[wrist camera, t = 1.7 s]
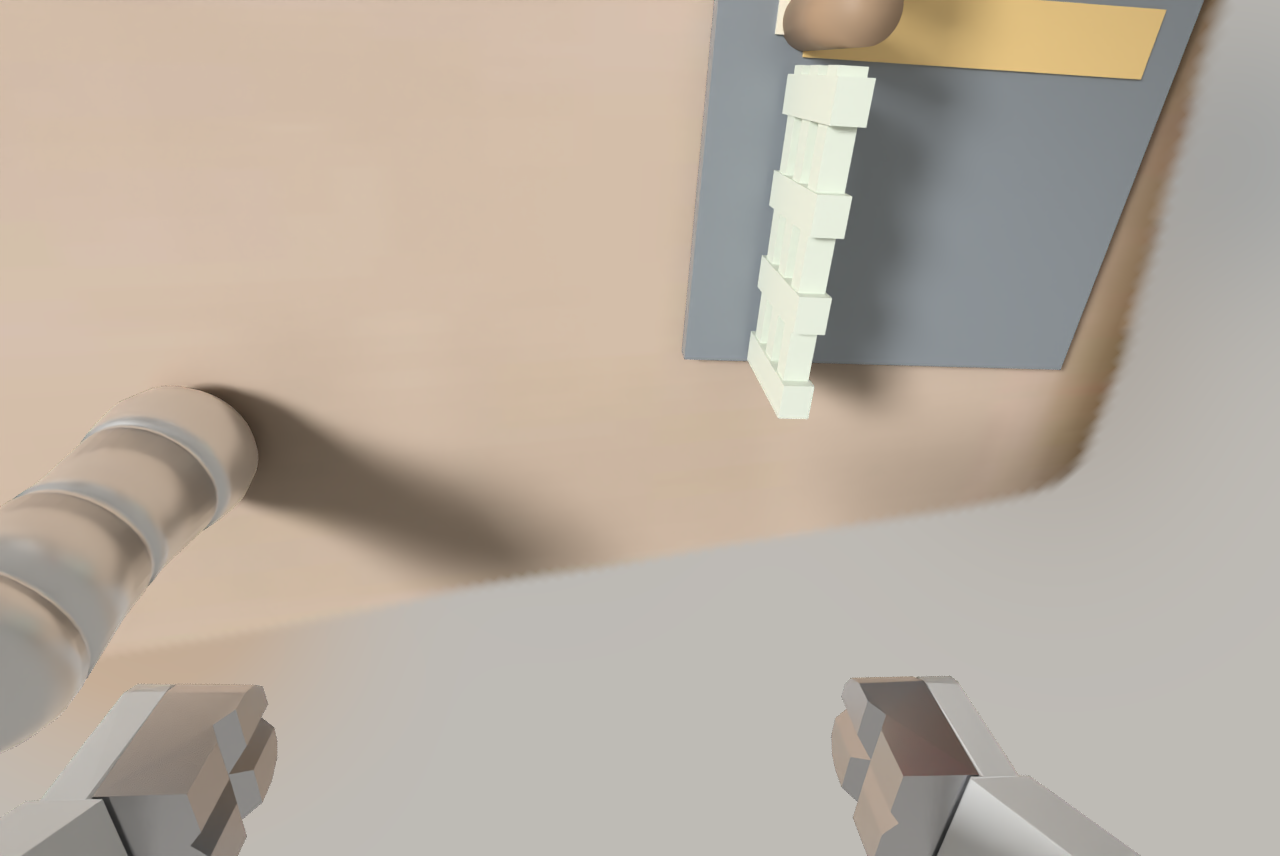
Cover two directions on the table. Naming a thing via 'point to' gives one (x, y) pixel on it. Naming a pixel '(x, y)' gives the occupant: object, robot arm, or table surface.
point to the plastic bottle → (107, 539)
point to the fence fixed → (839, 23)
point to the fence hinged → (806, 227)
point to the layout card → (939, 175)
